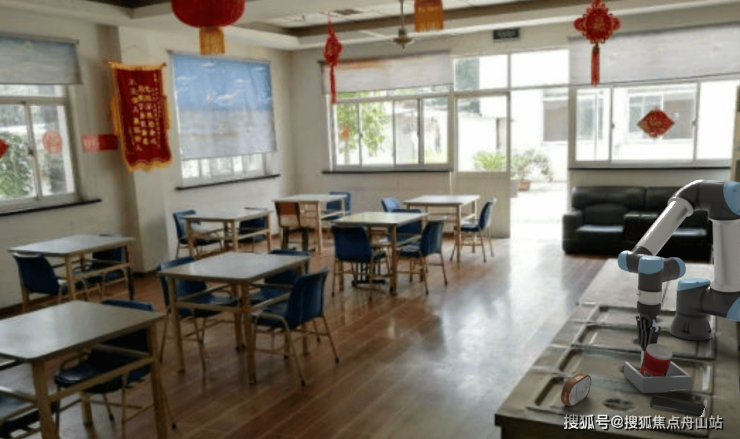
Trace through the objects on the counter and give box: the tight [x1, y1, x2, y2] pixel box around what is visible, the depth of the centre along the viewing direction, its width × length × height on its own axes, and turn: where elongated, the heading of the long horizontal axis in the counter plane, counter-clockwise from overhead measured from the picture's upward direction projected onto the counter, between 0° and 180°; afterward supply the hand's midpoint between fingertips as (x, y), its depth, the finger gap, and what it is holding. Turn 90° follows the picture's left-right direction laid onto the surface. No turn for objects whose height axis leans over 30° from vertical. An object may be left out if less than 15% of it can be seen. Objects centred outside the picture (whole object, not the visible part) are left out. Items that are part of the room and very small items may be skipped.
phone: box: [649, 394, 706, 418], centre depth 182 cm, size 8×1×15 cm
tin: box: [560, 371, 592, 407], centre depth 187 cm, size 15×3×8 cm, turn 133°
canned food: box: [639, 343, 673, 377], centre depth 199 cm, size 8×8×11 cm
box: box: [623, 360, 693, 394], centre depth 198 cm, size 16×14×5 cm
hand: (645, 367), depth 206 cm, fingers closed
